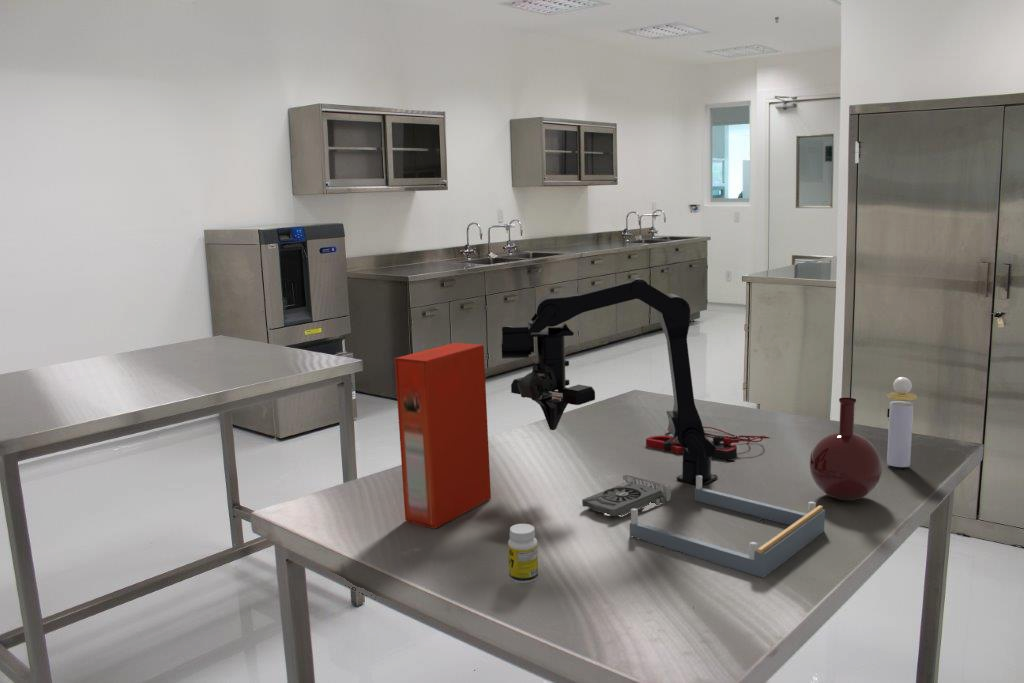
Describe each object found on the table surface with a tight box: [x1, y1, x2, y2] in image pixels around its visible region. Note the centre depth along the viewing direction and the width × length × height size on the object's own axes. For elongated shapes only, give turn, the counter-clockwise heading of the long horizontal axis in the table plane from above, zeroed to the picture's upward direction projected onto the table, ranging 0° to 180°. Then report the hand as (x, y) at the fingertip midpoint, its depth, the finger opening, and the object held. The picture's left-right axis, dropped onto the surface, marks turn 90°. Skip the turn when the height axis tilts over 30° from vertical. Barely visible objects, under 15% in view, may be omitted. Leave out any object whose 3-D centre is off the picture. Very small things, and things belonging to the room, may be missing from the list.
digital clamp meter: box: [645, 426, 771, 461], centre depth 198 cm, size 23×4×25 cm
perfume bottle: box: [886, 376, 918, 468], centre depth 175 cm, size 6×6×20 cm
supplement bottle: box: [507, 523, 539, 584], centre depth 131 cm, size 5×5×8 cm
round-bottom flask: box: [808, 397, 883, 501], centre depth 159 cm, size 13×13×20 cm
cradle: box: [629, 475, 826, 579], centre depth 145 cm, size 23×26×5 cm
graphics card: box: [581, 473, 672, 517], centre depth 161 cm, size 17×4×12 cm
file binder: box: [394, 342, 492, 529], centre depth 158 cm, size 8×17×32 cm, turn 145°
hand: (552, 429), depth 171 cm, fingers closed
